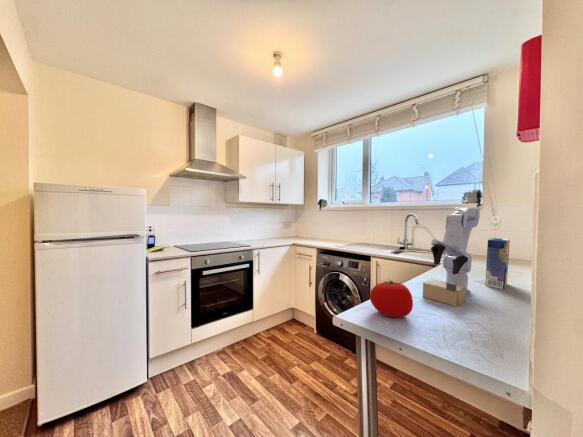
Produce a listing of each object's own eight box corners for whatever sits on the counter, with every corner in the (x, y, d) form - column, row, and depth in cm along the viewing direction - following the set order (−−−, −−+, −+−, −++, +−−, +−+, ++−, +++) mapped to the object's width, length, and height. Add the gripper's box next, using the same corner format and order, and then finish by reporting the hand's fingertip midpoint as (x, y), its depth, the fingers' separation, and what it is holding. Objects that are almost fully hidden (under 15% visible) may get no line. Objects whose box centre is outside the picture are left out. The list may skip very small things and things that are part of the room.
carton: (430, 292, 106) (431, 278, 105) (464, 301, 96) (465, 286, 95) (422, 296, 101) (423, 282, 100) (457, 306, 91) (458, 290, 90)
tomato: (406, 327, 75) (408, 291, 74) (364, 314, 84) (365, 282, 83) (416, 313, 84) (418, 282, 84) (378, 303, 93) (379, 274, 93)
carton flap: (423, 296, 100) (423, 276, 100) (456, 305, 91) (457, 284, 90) (422, 296, 99) (422, 277, 99) (455, 306, 90) (456, 285, 90)
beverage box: (506, 283, 117) (509, 239, 116) (504, 289, 110) (507, 241, 108) (489, 280, 122) (491, 237, 121) (485, 285, 115) (487, 240, 113)
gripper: (442, 227, 93) (435, 257, 88) (477, 244, 93) (472, 276, 87) (430, 233, 100) (423, 261, 94) (462, 249, 99) (457, 279, 93)
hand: (445, 268), depth 91 cm, fingers open, 7 cm apart
